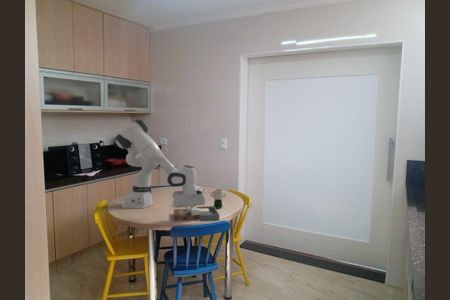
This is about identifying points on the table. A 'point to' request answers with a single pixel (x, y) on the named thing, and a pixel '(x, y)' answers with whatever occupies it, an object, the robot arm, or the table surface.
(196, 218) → the board
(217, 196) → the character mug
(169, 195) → the table surface
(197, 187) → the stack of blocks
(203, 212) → the tile
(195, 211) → the tile
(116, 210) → the table surface
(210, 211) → the box
